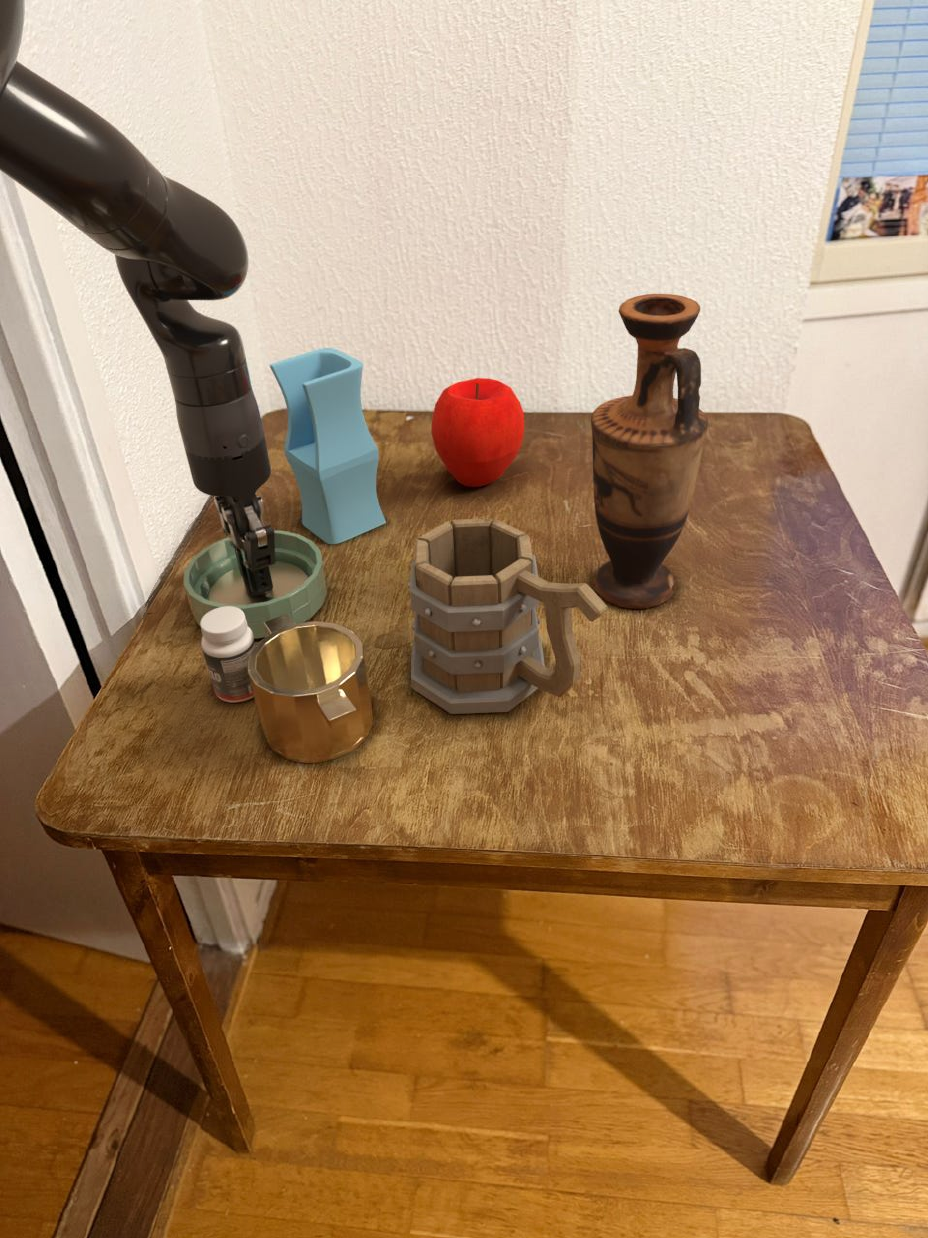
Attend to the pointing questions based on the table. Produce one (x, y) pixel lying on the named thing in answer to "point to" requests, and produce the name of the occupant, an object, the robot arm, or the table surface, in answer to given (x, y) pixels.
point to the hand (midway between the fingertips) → (257, 582)
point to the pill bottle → (228, 652)
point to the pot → (311, 689)
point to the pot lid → (238, 587)
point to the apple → (477, 430)
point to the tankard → (489, 619)
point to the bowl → (295, 603)
